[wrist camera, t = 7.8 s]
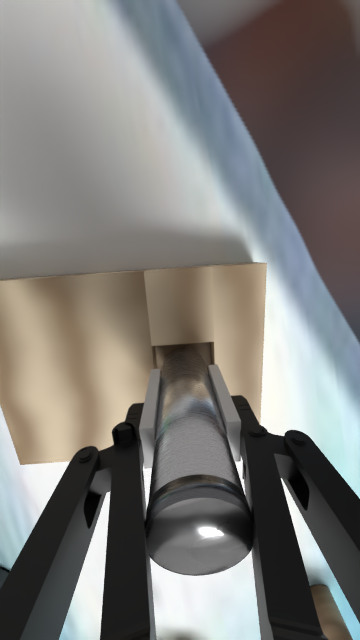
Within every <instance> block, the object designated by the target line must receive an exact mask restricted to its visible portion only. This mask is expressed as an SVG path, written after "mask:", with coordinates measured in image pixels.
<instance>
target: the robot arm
mask: <svg viewBox="0 0 360 640" xmlns="http://www.w3.org/2000/svg"><path fill="white" fill-rule="evenodd" d="M208 368H209V378H210V381H211V384H212V388H213V391H214V394H215V398H216V401H217V404H218V408H219V411H220V414H221V418H222V421H223V424H224V428H225V431H226V434H227V438H228V441H229V444H230V448H231V451H232V454H233V458H234V461H235V462H236V461H240V460H241V457H242V460H243V479H244V484H245V493H246V498H247V500H248V503H249V507H250V510H251V513H252V516H253V521H254V523H253V548H252V559H253V568H254V578H255V587H256V596H257V606H258V615H259V625H260V634H261V640H328V638H327V637H326V636H325V634H324V633H323V631H322V628H321V625H320V622H319V619H318V615H317V611H316V608H315V604H314V600H313V597H312V593H311V589H310V585H309V582H308V578H307V574H306V571H305V567H304V563H303V560H302V556H301V552H300V548H299V545H298V541H297V537H296V534H295V530H294V526H293V523H292V519H291V515H290V511H289V508H288V504H287V500H286V497H285V493H284V489H283V486H282V482H281V478H282V479H283V481H284V483H285V485H286V486H287V488H288V490H289V492H290V494H291V496H292V498H293V499H294V501H295V503H296V505H297V507H298V509H299V511H300V513H301V514H302V516H303V518H304V520H305V522H306V524H307V526H308V528H309V529H310V531H311V533H312V535H313V537H314V539H315V541H316V543H317V544H318V546H319V548H320V550H321V552H322V554H323V556H324V557H325V559H326V561H327V563H328V565H329V567H330V569H331V571H332V572H333V574H334V576H335V578H336V580H337V582H338V584H339V586H340V587H341V589H342V591H343V593H344V595H345V597H346V599H347V600H348V602H349V604H350V606H351V608H352V610H353V612H354V614H355V615H356V617H357V619H358V621H359V623H360V499H359V497H358V496H357V495H356V494H355V492H354V491H353V490H352V489H351V488H350V486H349V485H348V484H347V483H346V481H345V480H344V479H343V478H342V476H341V475H340V474H339V473H338V472H337V470H336V469H335V468H334V467H333V465H332V464H331V463H330V462H329V460H328V459H327V458H326V457H325V456H324V454H323V453H322V452H321V451H320V449H319V448H318V447H317V446H316V444H315V443H314V442H313V441H312V439H311V438H310V437H309V436H308V435H306V434H305V433H303V432H300V431H297V430H290V431H287V432H286V433H285V436H279V435H274V434H271V433H268V432H267V430H266V429H265V428H264V427H263V426H261V425H260V424H259V422H258V420H257V418H256V416H255V414H254V412H253V410H252V409H251V407H250V405H249V403H248V401H247V399H246V398H245V397H243V396H242V395H234V396H230V393H229V391H228V388H227V386H226V384H225V381H224V379H223V376H222V374H221V371H220V369H219V367H218V364H216V365H208ZM160 386H161V371H160V369H151V372H150V377H149V382H148V387H147V392H146V397H145V401H144V403H133V404H132V405H131V406H130V407H129V409H128V412H127V415H126V418H125V421H124V422H121V423H119V424H117V425H116V426H115V427H114V428H113V430H112V437H113V443H114V445H112V446H111V447H108V448H106V449H103V450H100V451H98V448H96V447H95V446H87V447H84V448H82V449H80V450H79V451H78V452H76V453H75V455H74V456H73V458H72V459H71V461H70V463H69V465H68V467H67V469H66V470H65V472H64V474H63V476H62V478H61V479H60V481H59V483H58V485H57V487H56V489H55V490H54V492H53V494H52V496H51V498H50V499H49V501H48V503H47V505H46V507H45V509H44V510H43V512H42V514H41V516H40V518H39V520H38V521H37V523H36V525H35V527H34V529H33V530H32V532H31V534H30V536H29V538H28V540H27V541H26V543H25V545H24V547H23V549H22V550H21V552H20V554H19V556H18V558H17V560H16V561H15V563H14V565H13V567H12V569H11V570H10V572H9V573H8V572H6V571H4V570H2V569H0V640H59V637H60V634H61V631H62V628H63V625H64V622H65V619H66V616H67V613H68V609H69V606H70V603H71V600H72V597H73V594H74V591H75V588H76V585H77V582H78V579H79V575H80V572H81V569H82V566H83V563H84V560H85V557H86V554H87V551H88V548H89V545H90V542H91V538H92V535H93V532H94V529H95V526H96V523H97V520H98V517H99V514H100V511H101V508H102V505H103V501H104V498H105V495H106V493H107V492H109V491H111V492H110V507H109V521H108V535H107V549H106V564H105V578H104V592H103V606H102V620H101V635H100V640H156V630H155V617H154V604H153V591H152V578H151V565H150V556H149V552H148V546H147V539H146V533H145V520H146V501H145V488H144V476H143V464H144V468H152V465H153V455H154V445H155V436H156V426H157V416H158V406H159V396H160Z"/></svg>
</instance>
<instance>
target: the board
mask: <svg viewBox="0 0 360 640" xmlns="http://www.w3.org/2000/svg"><path fill="white" fill-rule="evenodd" d="M266 268H267V263H257V262H251V263H236V264H221V265H207V266H192V267H177V268H162V269H148V270H133V271H118V272H104V273H89V274H74V275H60V276H45V277H30V278H15V279H1V280H0V405H1V408H2V411H3V414H4V417H5V420H6V423H7V426H8V429H9V432H10V435H11V438H12V441H13V444H14V447H15V450H16V453H17V456H18V459H19V462H20V465H25V464H38V463H52V462H65V461H71V459H72V458H73V456H74V455H75V453H76V452H78V451H79V450H80V449H82V448H84V447H87V446H95V447H96V448H98V451H100V450H103V449H106V448H108V447H111V446H112V445H114V443H113V437H112V430H113V428H114V427H115V426H116V425H117V424H119V423H121V422H124V421H125V418H126V415H127V412H128V409H129V407H130V406H131V405H132V404H133V403H144V401H145V397H146V392H147V387H148V382H149V377H150V372H151V369H160V371H161V376H162V366H163V362H164V359H165V358H166V356H167V355H168V354H169V353H170V352H172V351H174V350H176V349H179V348H190V349H193V350H195V351H197V352H198V353H199V354H200V355H201V356H202V357H203V359H204V361H205V364H206V368H207V371H208V374H209V368H208V365H216V364H218V367H219V369H220V371H221V374H222V376H223V379H224V381H225V384H226V386H227V388H228V391H229V393H230V396H234V395H242V396H243V397H245V398H246V399H247V401H248V403H249V405H250V407H251V409H252V410H253V412H254V414H255V416H256V418H257V420H258V422H259V424H260V417H261V392H262V367H263V342H264V317H265V293H266Z"/></svg>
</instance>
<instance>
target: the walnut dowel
mask: <svg viewBox="0 0 360 640" xmlns="http://www.w3.org/2000/svg"><path fill="white" fill-rule="evenodd" d="M310 589H311V593H312V597H313V600H314V604H315V608H316V611H317V615H318V619H319V622H320V625H321V628H322V631H323V633H324V634H325V636H326V637H327V638H328V640H353V639H352V637H351V635H350V633H349V631H348V628H347V626H346V624H345V622H344V620H343V618H342V616H341V613H340V611H339V609H338V607H337V605H336V603H335V601H334V599H333V596H332V594H331V592H330V590H329V588H328V587H327V586H325V585H313V586H310Z"/></svg>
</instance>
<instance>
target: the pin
mask: <svg viewBox="0 0 360 640" xmlns="http://www.w3.org/2000/svg"><path fill="white" fill-rule="evenodd" d="M253 523H254V521H253V516H252V513H251V510H250V507H249V503H248V500H247V498H246V496H245V494H244V491H243V488H242V485H241V481H240V478H239V475H238V471H237V468H236V465H235V461H234V458H233V454H232V451H231V448H230V444H229V441H228V438H227V434H226V431H225V428H224V424H223V421H222V418H221V414H220V411H219V408H218V404H217V401H216V398H215V394H214V391H213V388H212V384H211V381H210V378H209V374H208V371H207V368H206V364H205V361H204V359H203V357H202V356H201V355H200V354H199V353H198V352H197V351H195V350H193V349H190V348H179V349H176V350H174V351H172V352H170V353H169V354H168V355H167V356H166V358H165V359H164V362H163V366H162V376H161V386H160V396H159V406H158V416H157V426H156V436H155V445H154V455H153V465H152V474H151V484H150V494H149V503H148V506H147V511H146V520H145V533H146V539H147V546H148V552H149V556H150V558H151V559H152V560H153V561H154V562H156V563H157V564H158V565H159V566H161V567H163V568H165V569H167V570H169V571H172V572H175V573H178V574H183V575H194V576H198V575H209V574H214V573H218V572H221V571H224V570H226V569H229V568H231V567H233V566H234V565H236V564H237V563H239V562H240V561H242V560H243V559H244V558H245V557H246V556H247V555H248V554H249V552H250V551H251V549H252V548H253Z"/></svg>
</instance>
